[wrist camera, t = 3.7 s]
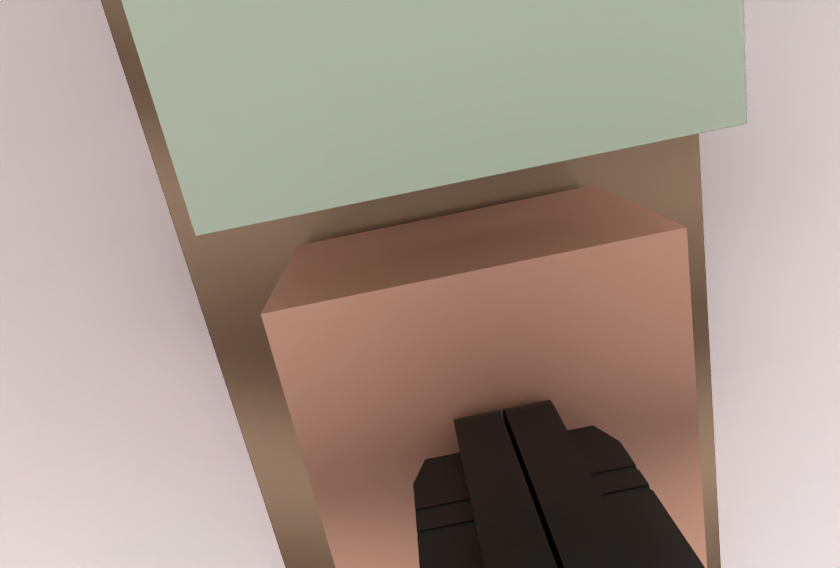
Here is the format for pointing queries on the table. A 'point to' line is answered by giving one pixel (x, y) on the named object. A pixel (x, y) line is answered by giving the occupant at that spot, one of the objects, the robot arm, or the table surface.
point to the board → (277, 239)
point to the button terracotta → (485, 352)
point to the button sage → (419, 91)
